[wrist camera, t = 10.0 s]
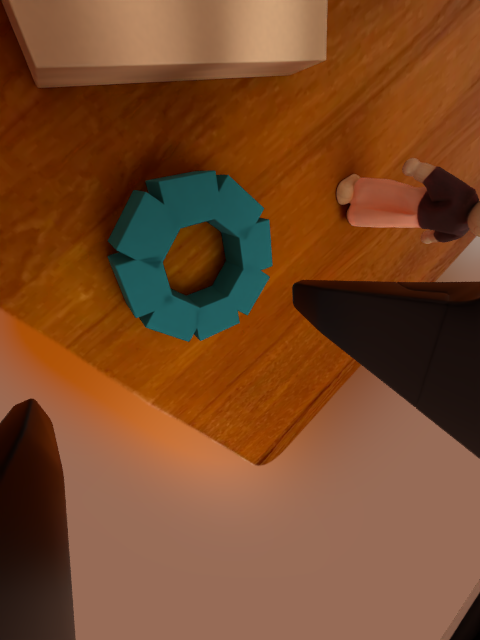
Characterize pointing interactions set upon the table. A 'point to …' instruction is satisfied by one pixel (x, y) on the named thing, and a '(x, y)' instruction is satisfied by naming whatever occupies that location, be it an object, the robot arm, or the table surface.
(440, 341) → the robot arm
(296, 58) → the board
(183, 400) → the table surface
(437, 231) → the grandmother figurine
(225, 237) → the ring
